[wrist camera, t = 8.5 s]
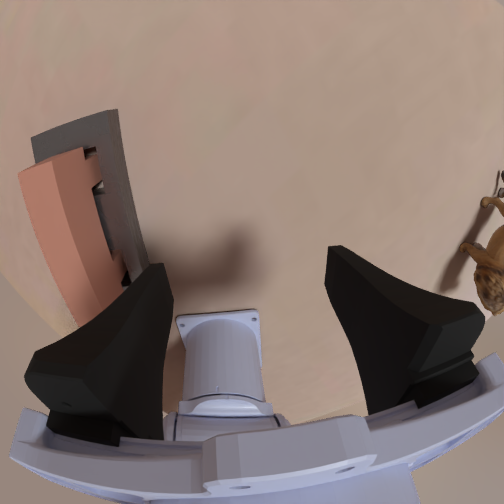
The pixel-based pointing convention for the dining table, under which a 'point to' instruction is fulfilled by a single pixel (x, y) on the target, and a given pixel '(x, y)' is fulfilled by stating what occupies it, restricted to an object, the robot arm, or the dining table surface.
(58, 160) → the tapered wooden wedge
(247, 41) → the dining table surface
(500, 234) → the lion figurine
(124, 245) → the slotted metal plate
